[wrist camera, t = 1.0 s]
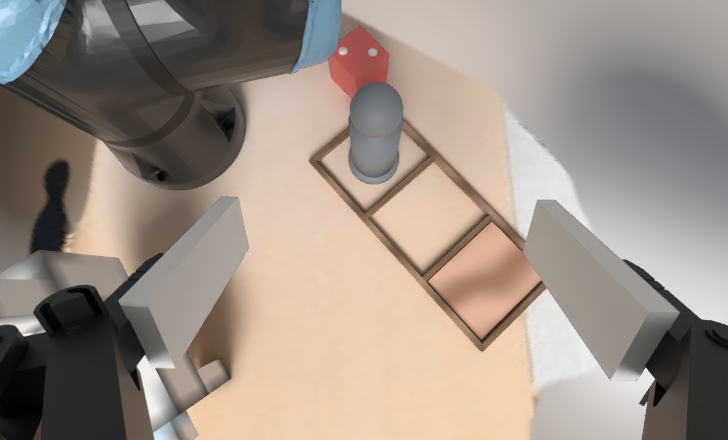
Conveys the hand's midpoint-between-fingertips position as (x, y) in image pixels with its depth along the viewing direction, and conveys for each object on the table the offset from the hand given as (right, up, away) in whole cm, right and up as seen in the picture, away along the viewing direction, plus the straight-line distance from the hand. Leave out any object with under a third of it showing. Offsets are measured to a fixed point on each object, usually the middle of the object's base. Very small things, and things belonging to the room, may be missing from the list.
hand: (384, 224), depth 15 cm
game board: (+7, +1, +24) cm, 25 cm away
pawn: (0, +8, +25) cm, 26 cm away
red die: (-2, +18, +27) cm, 33 cm away
